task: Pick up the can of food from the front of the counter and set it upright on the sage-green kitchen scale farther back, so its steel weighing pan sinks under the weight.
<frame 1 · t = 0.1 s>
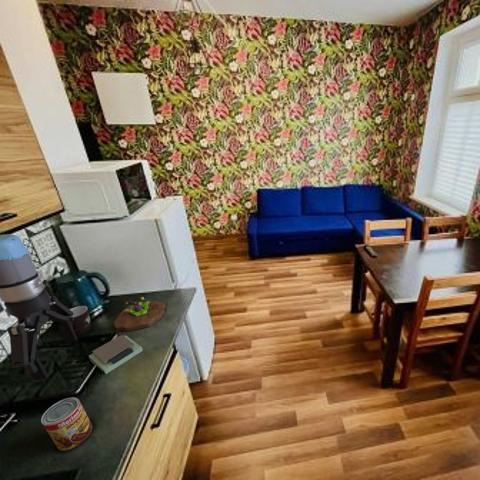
hand: (57, 358, 75), 24 cm above the kitchen counter, tool pointing down, fingers open, 13 cm apart
canned food: (76, 438, 78), on the kitchen counter
coffee mug: (79, 332, 118), on the kitchen counter
scale: (117, 357, 105), on the kitchen counter
plant: (142, 317, 128), on the kitchen counter
scale pan: (113, 348, 104), point 4 cm above the kitchen counter, slide at 0.0 cm
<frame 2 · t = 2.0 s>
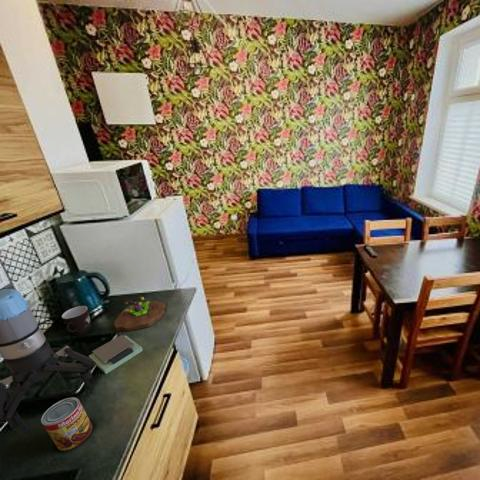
hand: (60, 407, 73), 13 cm above the kitchen counter, tool pointing down, fingers open, 13 cm apart
nothing on the kitchen counter moved.
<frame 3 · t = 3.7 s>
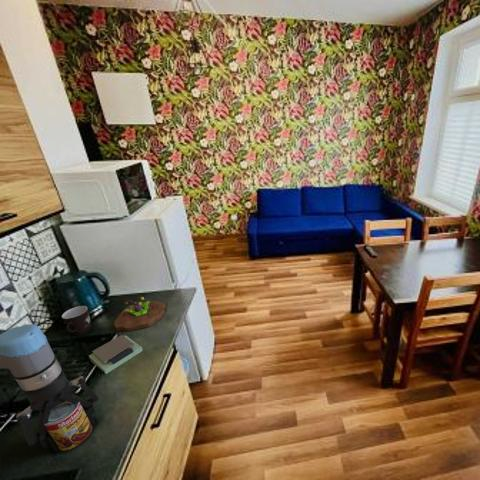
hand: (74, 435, 77), 1 cm above the kitchen counter, tool pointing down, fingers closed on canned food, 8 cm apart
canned food: (76, 438, 78), on the kitchen counter, touching gripper
everything else where it was.
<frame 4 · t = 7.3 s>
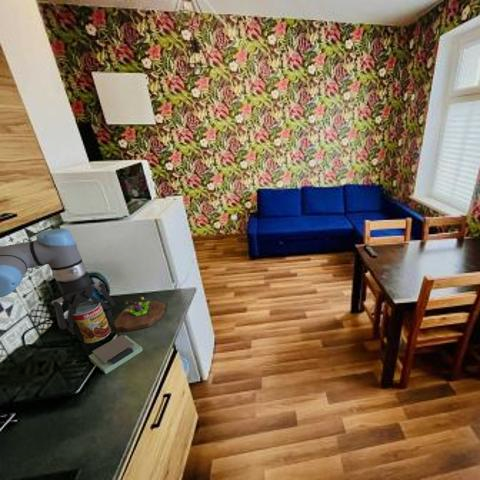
hand: (96, 332, 94), 18 cm above the kitchen counter, tool pointing down, fingers closed on canned food, 8 cm apart
canned food: (97, 335, 94), point 16 cm above the kitchen counter, touching gripper
everything else where it was.
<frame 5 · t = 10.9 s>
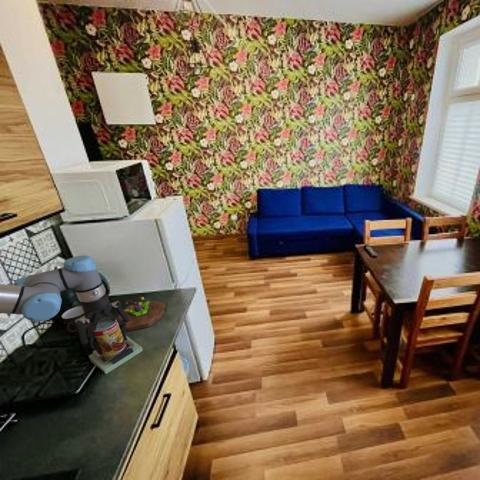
hand: (112, 345, 104), 5 cm above the kitchen counter, tool pointing down, fingers closed on canned food, 8 cm apart
canned food: (113, 348, 104), point 4 cm above the kitchen counter, touching gripper, scale pan
scale pan: (113, 348, 104), point 4 cm above the kitchen counter, slide at -0.3 cm, touching canned food
everything else where it was.
when the fingers open (5 cm above the kitchen counter, at t = 11.0 s): canned food stays where it is, resting on scale pan.
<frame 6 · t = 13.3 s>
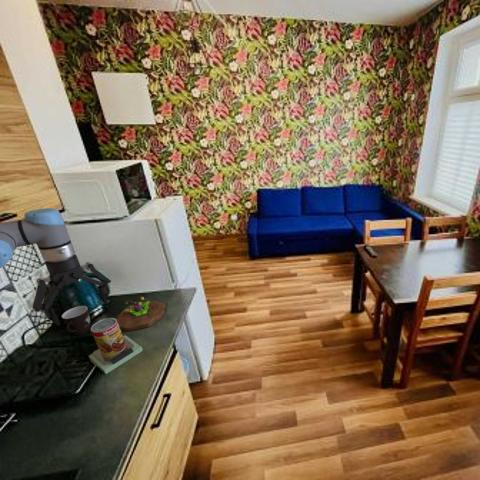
hand: (82, 312, 92), 25 cm above the kitchen counter, tool pointing down, fingers open, 13 cm apart
canned food: (114, 349, 104), point 4 cm above the kitchen counter, touching scale pan
scale pan: (114, 349, 104), point 3 cm above the kitchen counter, slide at -0.6 cm, touching canned food
everything else where it was.
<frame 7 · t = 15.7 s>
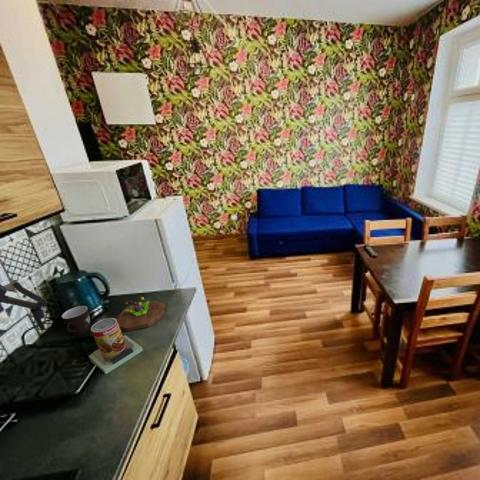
hand: (9, 342, 74), 29 cm above the kitchen counter, tool pointing down, fingers open, 13 cm apart
nothing on the kitchen counter moved.
at the end: canned food inside the target area on the scale (0.1 cm from its centre), point 3.7 cm above the scale's base; canned food tilted 0°; scale pan slide at -0.6 cm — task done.
